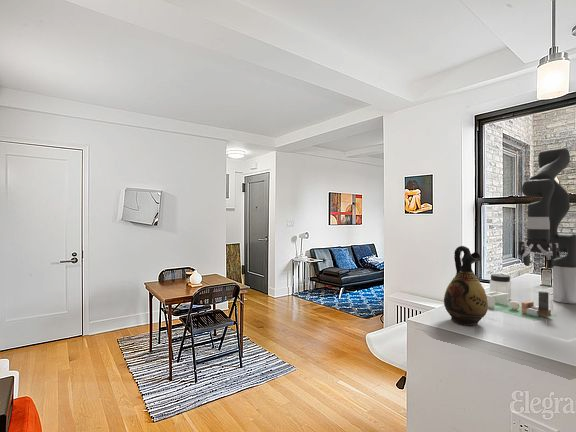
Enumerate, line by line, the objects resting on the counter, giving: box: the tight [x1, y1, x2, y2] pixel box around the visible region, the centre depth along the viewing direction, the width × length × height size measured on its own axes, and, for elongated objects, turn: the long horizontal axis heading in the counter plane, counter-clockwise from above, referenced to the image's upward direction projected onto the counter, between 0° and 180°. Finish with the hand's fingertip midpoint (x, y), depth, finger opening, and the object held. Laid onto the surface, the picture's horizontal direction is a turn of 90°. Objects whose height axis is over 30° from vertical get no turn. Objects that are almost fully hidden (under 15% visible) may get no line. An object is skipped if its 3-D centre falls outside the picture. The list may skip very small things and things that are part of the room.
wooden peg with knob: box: [521, 291, 552, 318], centre depth 135 cm, size 5×9×10 cm, turn 24°
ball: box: [509, 300, 521, 310], centre depth 143 cm, size 4×4×4 cm
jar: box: [489, 273, 512, 301], centre depth 164 cm, size 9×8×12 cm
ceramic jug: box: [443, 245, 489, 327], centre depth 129 cm, size 17×15×30 cm
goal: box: [485, 291, 510, 308], centre depth 151 cm, size 11×6×6 cm, turn 114°
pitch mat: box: [488, 303, 558, 322], centre depth 143 cm, size 16×25×1 cm, turn 24°
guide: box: [527, 305, 544, 318], centre depth 135 cm, size 7×4×3 cm, turn 114°
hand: (538, 267), depth 134 cm, fingers open, 8 cm apart
